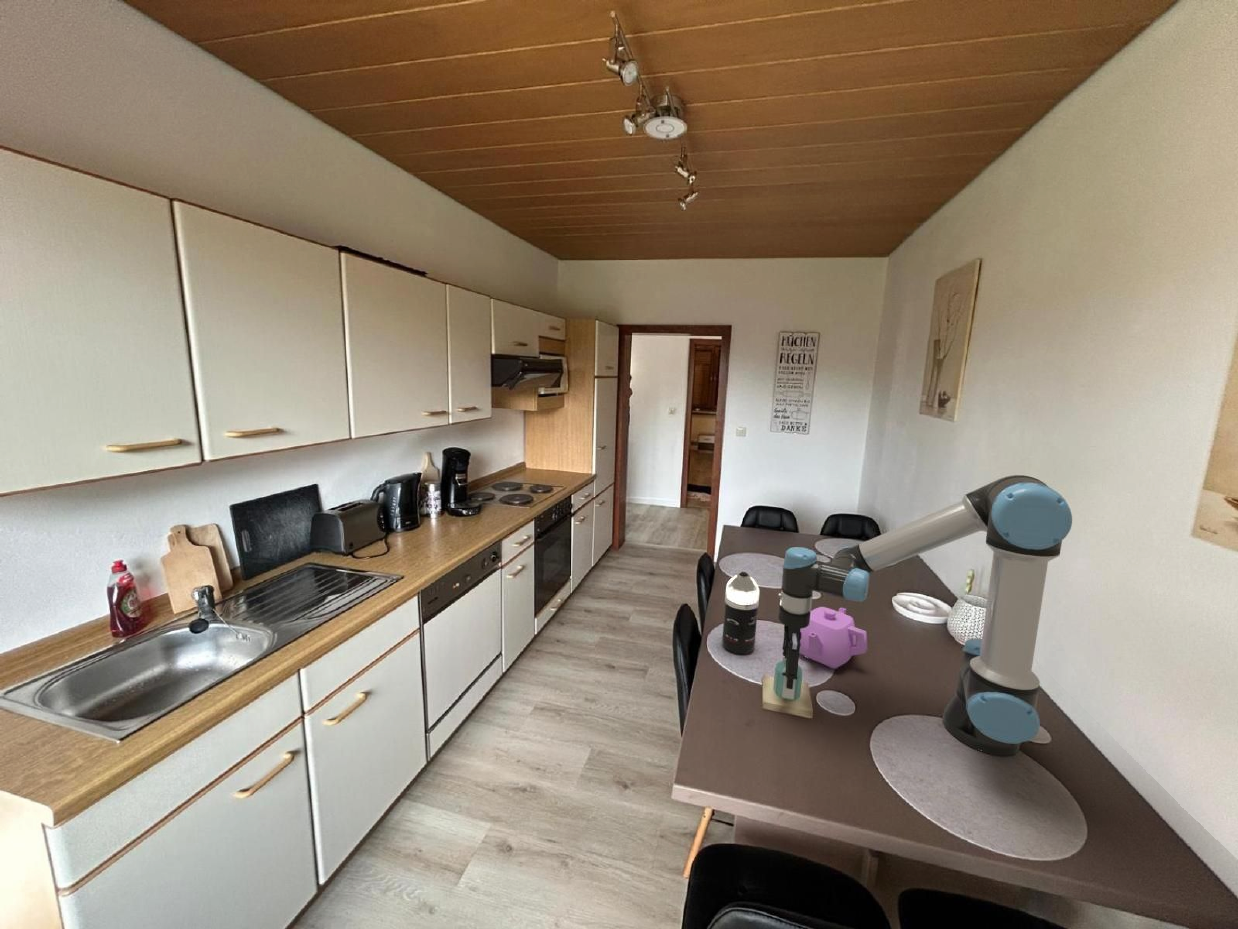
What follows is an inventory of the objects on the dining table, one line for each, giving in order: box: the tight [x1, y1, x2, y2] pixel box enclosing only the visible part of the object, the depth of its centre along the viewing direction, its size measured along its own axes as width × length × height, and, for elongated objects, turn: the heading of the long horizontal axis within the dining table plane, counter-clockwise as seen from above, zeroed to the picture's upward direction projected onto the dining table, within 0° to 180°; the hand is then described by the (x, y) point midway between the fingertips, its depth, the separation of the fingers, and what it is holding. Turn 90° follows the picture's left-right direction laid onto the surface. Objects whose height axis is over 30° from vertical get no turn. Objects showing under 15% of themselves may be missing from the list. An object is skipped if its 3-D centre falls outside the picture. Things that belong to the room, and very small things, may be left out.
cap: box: [773, 660, 803, 700], centre depth 128 cm, size 6×6×8 cm
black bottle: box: [721, 571, 760, 655], centre depth 151 cm, size 10×10×25 cm
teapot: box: [799, 606, 868, 670], centre depth 148 cm, size 19×18×15 cm
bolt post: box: [761, 674, 814, 719], centre depth 128 cm, size 12×12×8 cm
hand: (786, 688), depth 128 cm, fingers closed on cap, 7 cm apart
